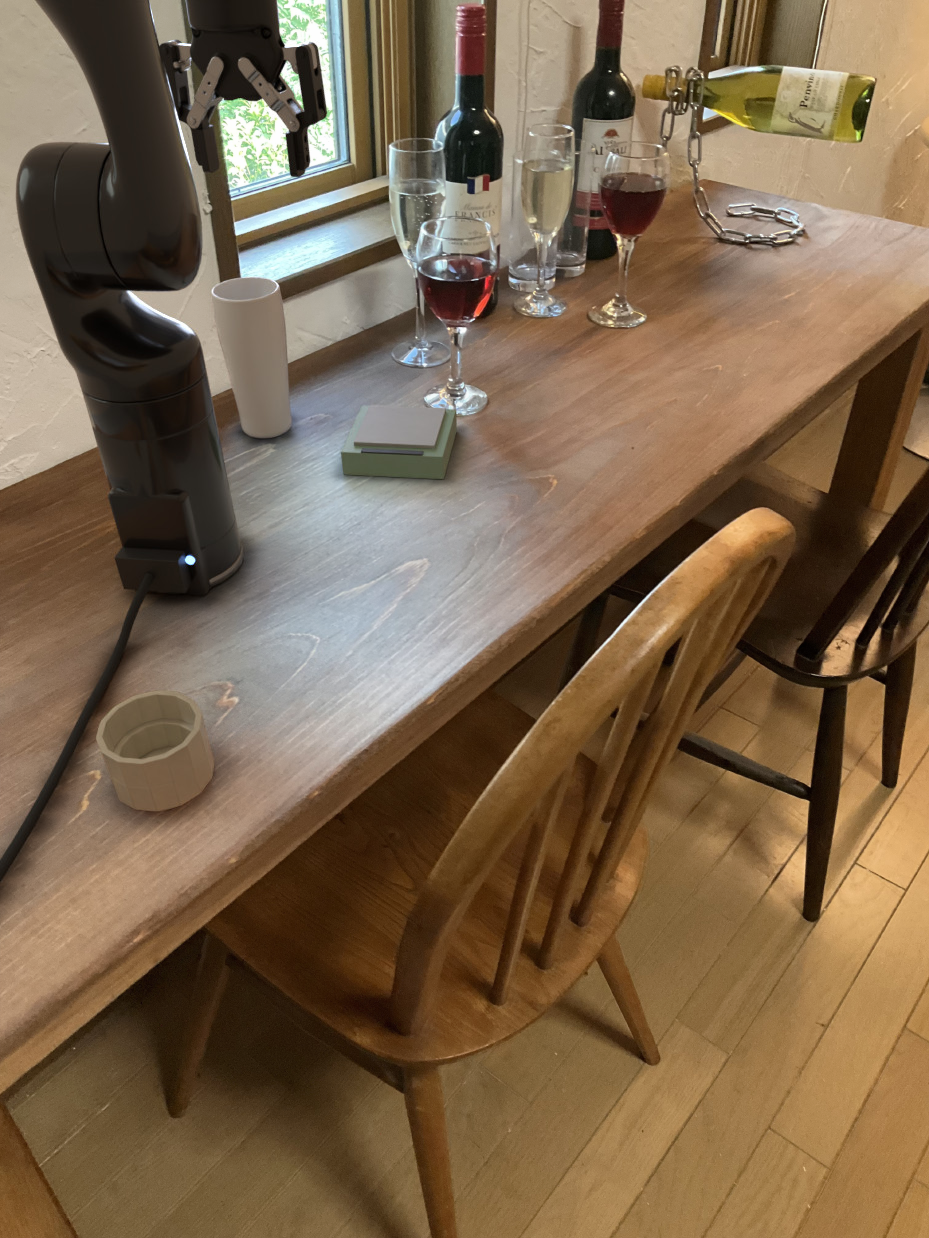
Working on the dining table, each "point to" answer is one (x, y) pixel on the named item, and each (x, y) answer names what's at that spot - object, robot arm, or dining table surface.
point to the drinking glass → (255, 352)
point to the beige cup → (156, 750)
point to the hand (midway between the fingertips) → (254, 173)
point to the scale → (400, 442)
